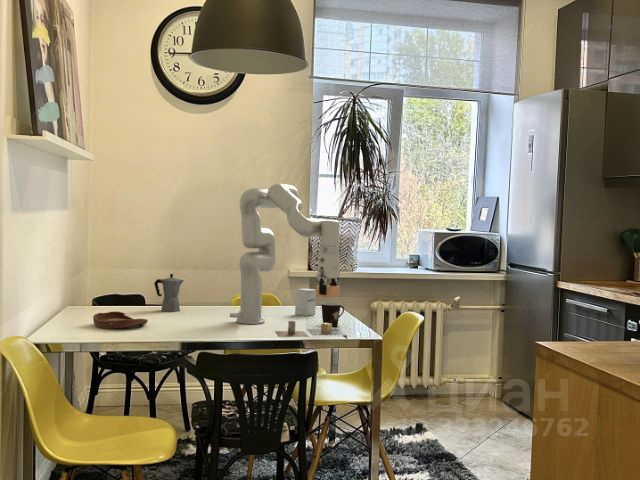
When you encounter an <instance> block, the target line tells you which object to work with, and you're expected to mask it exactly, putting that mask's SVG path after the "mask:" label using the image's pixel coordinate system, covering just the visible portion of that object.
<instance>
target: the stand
mask: <svg viewBox="0 0 640 480" xmlns="http://www.w3.org/2000/svg"><path fill="white" fill-rule="evenodd" d="M274 333H275V334H276V335H277V337H281V338H285V337H286V338H287V337H288V338H290V337H291V338H292V337H293V338H294V337H295V338H296V337H297V338H298V337H299V338H300V337H303V338H305V337H307V338H309V335H308V334H307V333H306V332H305V331H304V330H300V331H299V330H296V320H289V321H288V323H287V330H274Z"/></svg>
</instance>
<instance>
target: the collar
mask: <svg viewBox="0 0 640 480" xmlns="http://www.w3.org/2000/svg"><path fill="white" fill-rule="evenodd" d="M326 285H327V286H326V295H321V294H319V285H316V286H315V287H316V288H315V290H316V297H321V298H322V297H323V298H337V297H340V296H341V295H340V294H341V286H340V285H337V286H331V285H330V284H329V285H328V284H326Z"/></svg>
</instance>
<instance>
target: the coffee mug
mask: <svg viewBox="0 0 640 480" xmlns="http://www.w3.org/2000/svg"><path fill="white" fill-rule="evenodd" d="M320 306H321V316H322V317H321V318H322V323H331V324H332V327H335V328H338V325H339V319H340V317H342V315H343V314H344V311H345V307H344V306H342V304H341V303H337V302H322V303H321V305H320ZM341 309H342V312H341ZM340 312H341V313H340Z"/></svg>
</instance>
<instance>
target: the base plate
mask: <svg viewBox="0 0 640 480" xmlns="http://www.w3.org/2000/svg"><path fill="white" fill-rule="evenodd" d="M306 330H307V331H308V332H309V334H310V335H312V336H342V337H343V338H345V339H346V340H347V339H348V335H347V334H346V333H345V332H344V331H342V330H341V329H339V328H336V329H335V328H332V324H331V323H323V322H322V323H320V328H317V329H316V328H306Z"/></svg>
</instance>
